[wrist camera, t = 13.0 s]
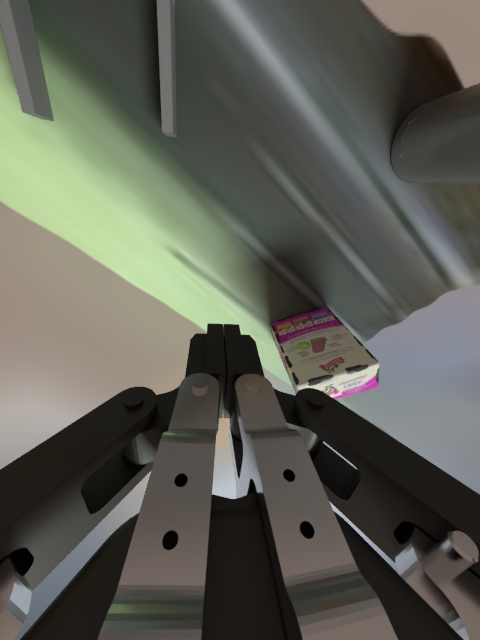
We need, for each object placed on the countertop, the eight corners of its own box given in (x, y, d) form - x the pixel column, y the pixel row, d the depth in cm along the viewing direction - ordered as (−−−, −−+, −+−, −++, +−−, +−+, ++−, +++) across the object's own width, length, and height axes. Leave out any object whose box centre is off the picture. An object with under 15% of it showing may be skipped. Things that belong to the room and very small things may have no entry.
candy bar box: (274, 343, 48) (300, 411, 34) (269, 322, 46) (295, 385, 32) (330, 327, 48) (380, 389, 33) (328, 305, 45) (381, 362, 31)
